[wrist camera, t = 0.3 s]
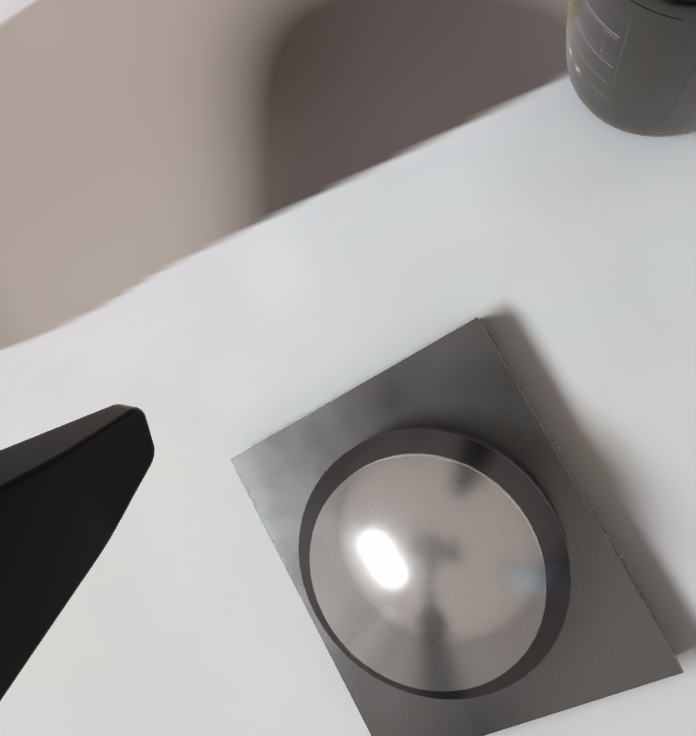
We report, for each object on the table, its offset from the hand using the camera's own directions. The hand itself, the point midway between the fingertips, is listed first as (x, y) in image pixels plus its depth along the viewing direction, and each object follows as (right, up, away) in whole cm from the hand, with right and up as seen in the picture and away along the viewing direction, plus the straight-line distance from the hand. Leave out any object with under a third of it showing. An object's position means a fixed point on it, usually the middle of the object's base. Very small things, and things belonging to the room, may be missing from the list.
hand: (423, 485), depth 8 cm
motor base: (+2, -5, +15) cm, 16 cm away
